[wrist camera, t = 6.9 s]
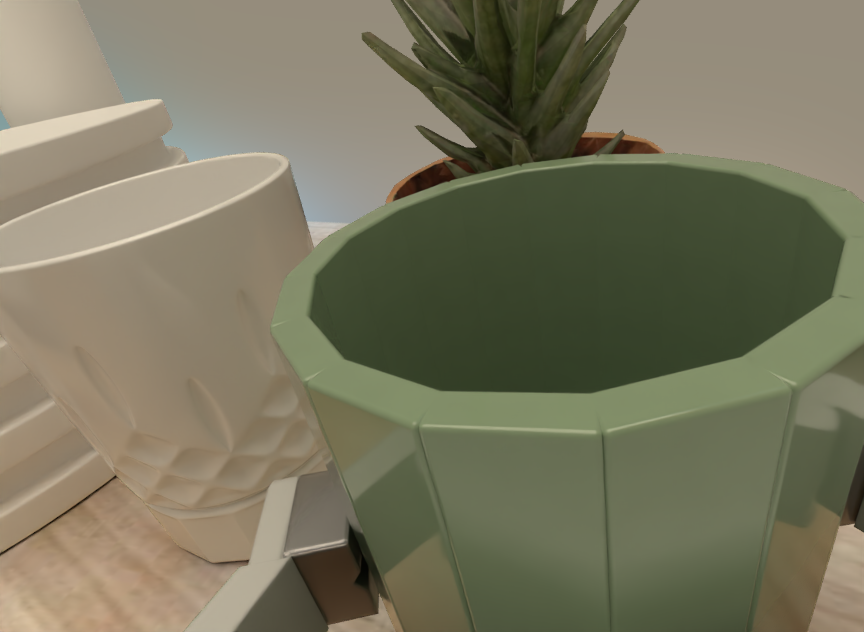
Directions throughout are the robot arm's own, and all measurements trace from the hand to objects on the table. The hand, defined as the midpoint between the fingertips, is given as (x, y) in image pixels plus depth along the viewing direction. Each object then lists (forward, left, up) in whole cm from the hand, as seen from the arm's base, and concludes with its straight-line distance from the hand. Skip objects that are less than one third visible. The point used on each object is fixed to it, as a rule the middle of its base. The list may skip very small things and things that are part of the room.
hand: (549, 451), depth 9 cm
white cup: (+7, +8, -6) cm, 12 cm away
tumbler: (-1, 0, -6) cm, 6 cm away
